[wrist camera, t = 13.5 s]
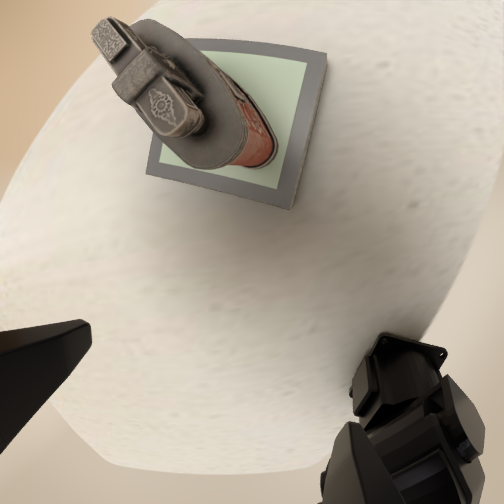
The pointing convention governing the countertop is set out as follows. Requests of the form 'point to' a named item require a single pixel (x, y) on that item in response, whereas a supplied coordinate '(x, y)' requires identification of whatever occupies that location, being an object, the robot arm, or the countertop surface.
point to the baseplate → (273, 107)
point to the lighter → (185, 96)
